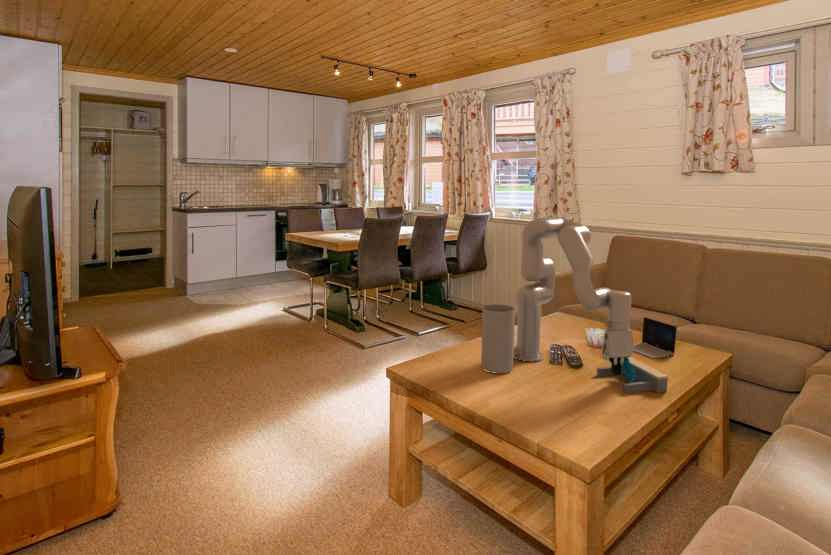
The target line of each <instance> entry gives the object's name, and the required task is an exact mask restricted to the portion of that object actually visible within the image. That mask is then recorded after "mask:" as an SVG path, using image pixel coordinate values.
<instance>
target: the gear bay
mask: <svg viewBox="0 0 831 555" xmlns="http://www.w3.org/2000/svg"><path fill="white" fill-rule="evenodd" d="M628 359H629V363H632V365H633V366H632V370H633V369H634V370H635V373H633V375H635V376H636V379H635V382H634V383H629V382H628V383H623V390H622V392H623V393H625V394H633V393H642V392H643V393H644V392H650V391H653V392H655V393H656V392H658V393H666V392H665V391H667V392H668V390H667V389H668V381H669V380H668V379H669V375H667V374H665V373H663V372H661V371H659V370H658V369H656V368H654V367H651V366H649V365H648V364H645V363H644V362H642V361H640V360H637V359H636V358H635V357H632V356H631V357H630V358H628ZM596 369H597V370H596V376H597V377H607V376H615V375H614V374H613V373H612V372H611V365H610V366H602V367H601V366H600V367H597V368H596ZM621 375H623V374H622V373H621Z"/></svg>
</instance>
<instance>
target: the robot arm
mask: <svg viewBox="0 0 831 555" xmlns="http://www.w3.org/2000/svg"><path fill="white" fill-rule="evenodd" d="M521 234H522V235H521V241H522V247H521V248H522V249H521V250H522V251H521V266H520V267H521V269H520V273H521V278H522V279H523V280H524V281H526V282H533V283H527V284H524V285H522V286H520V288H518V290H517V292H516V295H515V296H516V297H515V299H516V306H517V328H516V329H517V330H516V332H517V333H516V345H514V354H513V356H514V357H515V358H517V359H520V360H525V361H537V362H540V361H542V360H543V359H544V355H543V354H542V353H541V352H540V346H541V327H542V324H541V323H542V322H541V321H542V316H541V315H542V314H541V312H540V308H539V306H541V305H544V304H548V303H549V302H551V301H552V299H553V297H554V293H555V281H556V266H555V263H554V261H553V260H552V259H551V258H549V257H547V256H544V245H543V242H542V240H548V239H557V240H558V243H559V246H560V247H561V250H562V251H563V253H564V255H565V256H566V259H567V261H568V262H569V265H570V267H571V269H572V272H571V273H572V274H571V279H572V282H571V283H572V287H573V290H574V291H573V292H574V293H575V295H576V297H577V299H578V301H579V303H580V304H581V306H582V307H583V308H584V309H585V310H587V311H590V312H595V311H599V310H602V309H607V308H608V309H607V322H606V323H604V327H605V330H604V335H603V340H602V359H603V360H605V361H609V363H610V364H611V365H610V366H611V372H612V373H613V374H614V375H613V376H621V375H622V374H621V367H622V364H623V362H624V361H625V360H626V359H627V358H630V357H632V356H633V355H634V351H633V344H634V334H633V330H632V329H631V315H632V314H631V311H632V309H631V308H632V294H631V293H630V292H629V291H624V290H623V291H622V290H615V289H611V288H609V287H598V288H594V285H593V284H592V282H591V279H590V269H591V268H592V265H593V264H594V261H595V260H594V257H593V255H592V253H591V251H590V250H589V247H588V244H589V243H590V241H591V239H592V238H591V237H592V235H591V234H592V233H591V232H590V230H589V228H588V227H587V226H585V225H583V224H581V223H578V222H574V221H572V220H569V219H566V218H565V217H560V216H551V217H550V216H549V217H547V216H545V217H538V218H535V219H532V220H530V221H528V222H527V223H526V224H525V226H524V227H523V230H522V233H521ZM514 357H513V358H514ZM515 358H514V359H515ZM517 359H516V360H517ZM520 360H519V361H520ZM539 360H540V361H539Z"/></svg>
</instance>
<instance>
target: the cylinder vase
mask: <svg viewBox="0 0 831 555" xmlns="http://www.w3.org/2000/svg"><path fill="white" fill-rule="evenodd" d="M515 319H516V308H515V307H514V306H511V305H507V304H500V303H499V304H487V305H484V306H483V307H482V318H481V320H482V322H481V323H482V324H481V358H480V359H481V364H480V366H482V367H481V369H482V368H483V369H485V370H487V371H490V372H496V373H506V372H509V373H510V371H511V372H512V371H513V369H514V357H513V354H514V346H515V325H516V324H515V323H516V322H515V321H516V320H515ZM483 369H482V370H483ZM506 374H507V373H506Z"/></svg>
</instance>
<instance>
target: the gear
mask: <svg viewBox="0 0 831 555" xmlns="http://www.w3.org/2000/svg"><path fill="white" fill-rule="evenodd" d="M632 366H633V365H632V363H629V359H628V358H627V359H626V360H625V361H624V362H623V364H622V367H621V373H622V374H621V375H623V377H625V381H627V382H628V383H636V380H635V379H636V376H635V375H633V373H635V370H634V369H633V370H632Z"/></svg>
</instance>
